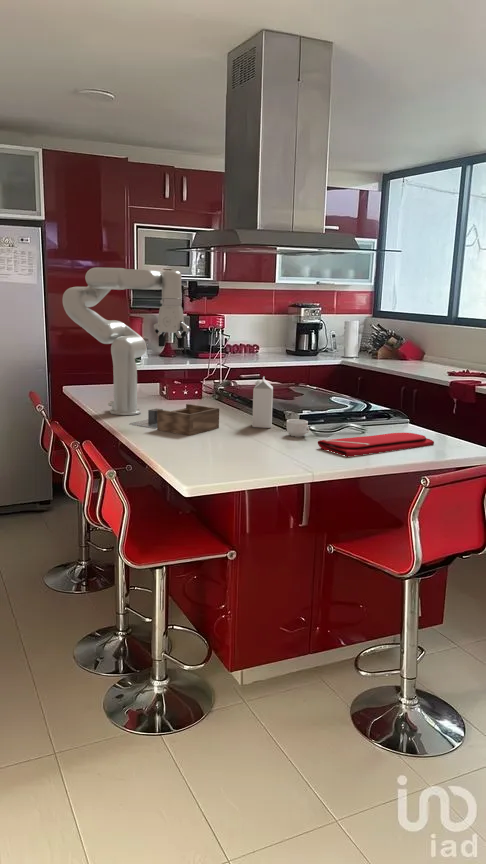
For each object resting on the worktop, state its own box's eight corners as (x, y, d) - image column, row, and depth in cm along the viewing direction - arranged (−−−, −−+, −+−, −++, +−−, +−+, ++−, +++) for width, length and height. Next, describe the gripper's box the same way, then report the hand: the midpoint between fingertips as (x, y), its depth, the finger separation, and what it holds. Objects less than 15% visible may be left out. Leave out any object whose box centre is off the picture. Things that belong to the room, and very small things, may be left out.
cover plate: (129, 425, 264) (129, 410, 262) (155, 420, 276) (155, 405, 275) (155, 430, 257) (155, 414, 256) (180, 424, 270) (180, 409, 269)
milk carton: (271, 424, 270) (273, 376, 266) (270, 428, 263) (272, 378, 260) (253, 424, 271) (255, 375, 267) (252, 427, 264) (253, 378, 260)
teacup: (281, 435, 252) (282, 420, 251) (296, 432, 257) (297, 418, 256) (300, 440, 245) (301, 425, 243) (316, 437, 249) (316, 422, 248)
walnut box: (157, 429, 255) (157, 409, 253) (187, 422, 269) (187, 403, 268) (189, 435, 247) (189, 414, 245) (218, 428, 261) (219, 408, 260)
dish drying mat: (434, 446, 243) (435, 435, 242) (347, 459, 220) (348, 448, 219) (401, 437, 256) (402, 428, 255) (316, 449, 233) (316, 438, 232)
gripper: (148, 302, 273) (148, 346, 276) (182, 304, 263) (182, 349, 267) (160, 302, 279) (160, 345, 282) (194, 304, 269) (194, 348, 273)
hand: (171, 347), depth 274 cm, fingers open, 9 cm apart
